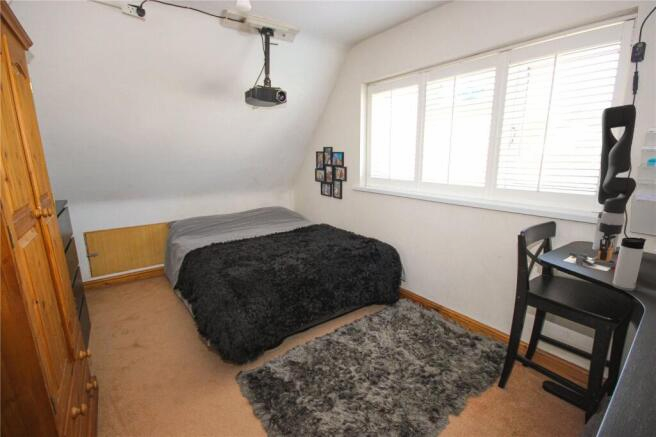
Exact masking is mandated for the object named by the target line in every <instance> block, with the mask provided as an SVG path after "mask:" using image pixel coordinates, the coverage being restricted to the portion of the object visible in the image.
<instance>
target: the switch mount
mask: <svg viewBox="0 0 656 437" xmlns="http://www.w3.org/2000/svg"><path fill="white" fill-rule="evenodd" d="M580 255H582V256H584V257H586V258H587V257H589V256H588V254H584V253H580ZM584 257H579V256H577V258H576V264H575V265H579V264H580V265H579V266H583V259H584Z"/></svg>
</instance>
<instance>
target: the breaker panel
mask: <svg viewBox="0 0 656 437" xmlns="http://www.w3.org/2000/svg"><path fill="white" fill-rule="evenodd" d="M587 258H588V259H590V260H591V259H593V258H594V257H589V256H588V257H587ZM562 261H563V262H567V263H571V264H575V265H577V264H576V258H575V257H573V256H571V255H570V256H568V257H567V258H565V259H563V260H562ZM597 261H599V260H597ZM601 262H603V261H601ZM606 263H608V262H606ZM610 264H611V263H610ZM578 265H579V266H581V265H580V264H578ZM582 266H583V267H586V268H587V267H588V268H591V269H596V270H600V271H603V272H604V271H605V272H608V271H609V270H611V268H610V267H606V266H602V265H597V264H593V265H591V266H590V265H588V264H586V263H584V262H583V265H582Z"/></svg>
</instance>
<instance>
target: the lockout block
mask: <svg viewBox="0 0 656 437" xmlns="http://www.w3.org/2000/svg"><path fill="white" fill-rule="evenodd" d="M599 248H600V247H599ZM613 248H614V247H610V248H609V250H608V253H607V258H606V260H602V261H607V262H609V261H610V260H611V259H612V256H613V254H614V253H613ZM603 249H605V247H603ZM600 254H601V251H599V250H598V252H597V259H598V260H601V259H600Z"/></svg>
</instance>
